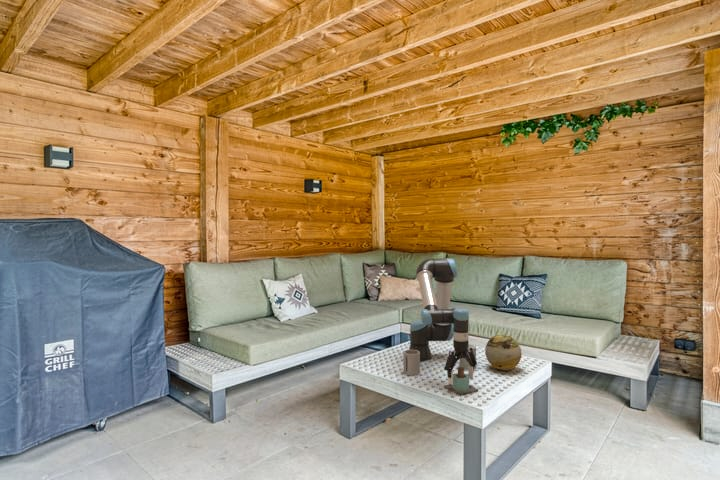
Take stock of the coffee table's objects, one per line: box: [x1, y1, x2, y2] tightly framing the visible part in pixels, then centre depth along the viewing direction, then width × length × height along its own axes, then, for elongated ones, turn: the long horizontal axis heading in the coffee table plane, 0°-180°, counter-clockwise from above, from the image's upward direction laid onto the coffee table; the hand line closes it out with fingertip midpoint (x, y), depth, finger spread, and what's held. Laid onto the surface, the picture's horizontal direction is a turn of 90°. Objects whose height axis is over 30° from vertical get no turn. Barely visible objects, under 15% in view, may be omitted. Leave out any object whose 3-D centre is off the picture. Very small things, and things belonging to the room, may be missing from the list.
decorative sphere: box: [484, 334, 523, 371], centre depth 239 cm, size 20×20×20 cm
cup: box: [403, 349, 421, 377], centre depth 235 cm, size 9×9×12 cm
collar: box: [452, 372, 470, 391], centre depth 210 cm, size 8×8×6 cm
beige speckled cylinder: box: [458, 344, 477, 371], centre depth 244 cm, size 10×10×12 cm
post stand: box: [443, 367, 479, 397], centre depth 210 cm, size 12×12×11 cm
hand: (460, 381), depth 210 cm, fingers open, 13 cm apart
